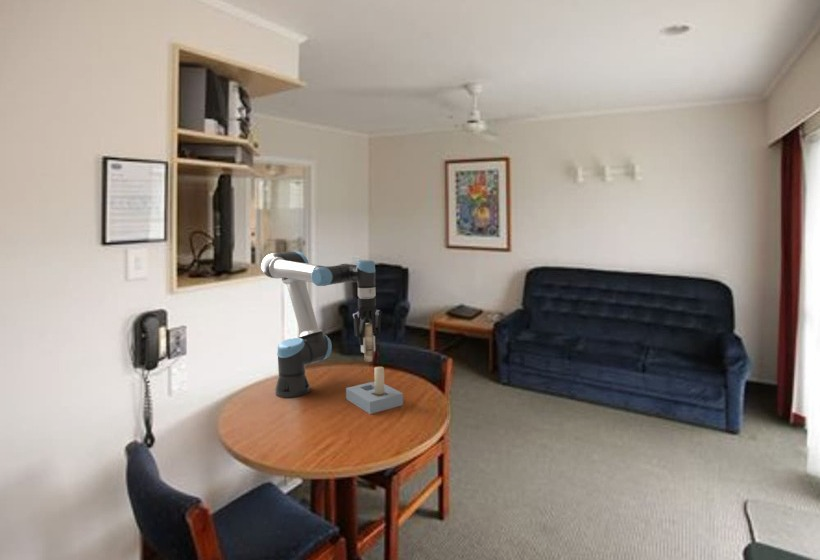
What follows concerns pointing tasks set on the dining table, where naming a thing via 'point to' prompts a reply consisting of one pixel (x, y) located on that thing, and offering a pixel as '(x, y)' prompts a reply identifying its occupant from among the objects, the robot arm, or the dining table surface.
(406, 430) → the dining table surface
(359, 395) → the seat board
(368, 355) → the beech leg
